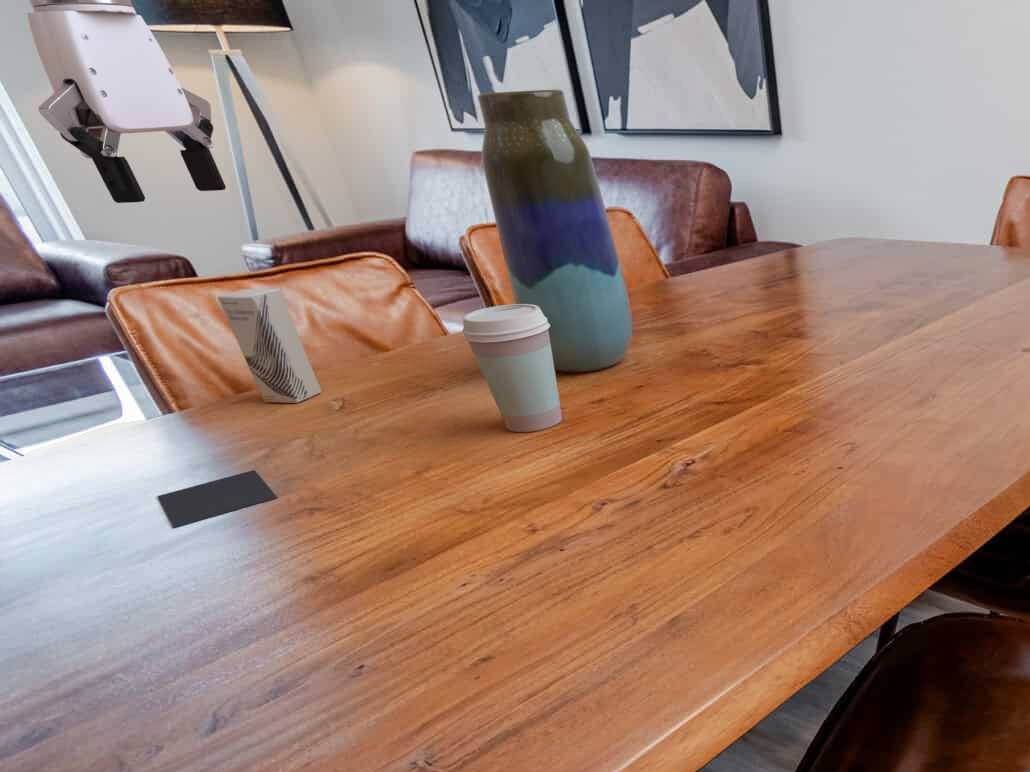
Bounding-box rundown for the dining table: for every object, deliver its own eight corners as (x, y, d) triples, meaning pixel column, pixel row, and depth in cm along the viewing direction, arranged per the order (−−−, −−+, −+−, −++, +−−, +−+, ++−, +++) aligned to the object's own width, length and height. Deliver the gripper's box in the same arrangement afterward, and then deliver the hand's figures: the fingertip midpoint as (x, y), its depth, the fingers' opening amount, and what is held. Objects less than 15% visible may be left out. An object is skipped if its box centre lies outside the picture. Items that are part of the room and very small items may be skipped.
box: (263, 403, 102) (212, 296, 96) (291, 392, 106) (243, 288, 99) (300, 404, 102) (251, 295, 95) (326, 392, 105) (281, 287, 98)
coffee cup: (584, 408, 95) (556, 300, 89) (560, 434, 88) (528, 319, 81) (510, 412, 95) (477, 305, 89) (481, 439, 88) (442, 324, 81)
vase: (555, 387, 102) (473, 93, 86) (520, 365, 112) (440, 96, 95) (658, 362, 109) (601, 86, 93) (617, 344, 119) (559, 90, 102)
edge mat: (173, 528, 72) (173, 527, 72) (157, 496, 79) (157, 496, 79) (277, 497, 77) (277, 496, 77) (254, 470, 83) (254, 469, 83)
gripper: (130, 5, 86) (212, 187, 95) (-55, -8, 71) (62, 208, 80) (192, 0, 84) (268, 185, 94) (16, -15, 70) (127, 206, 79)
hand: (173, 195), depth 87 cm, fingers open, 9 cm apart
